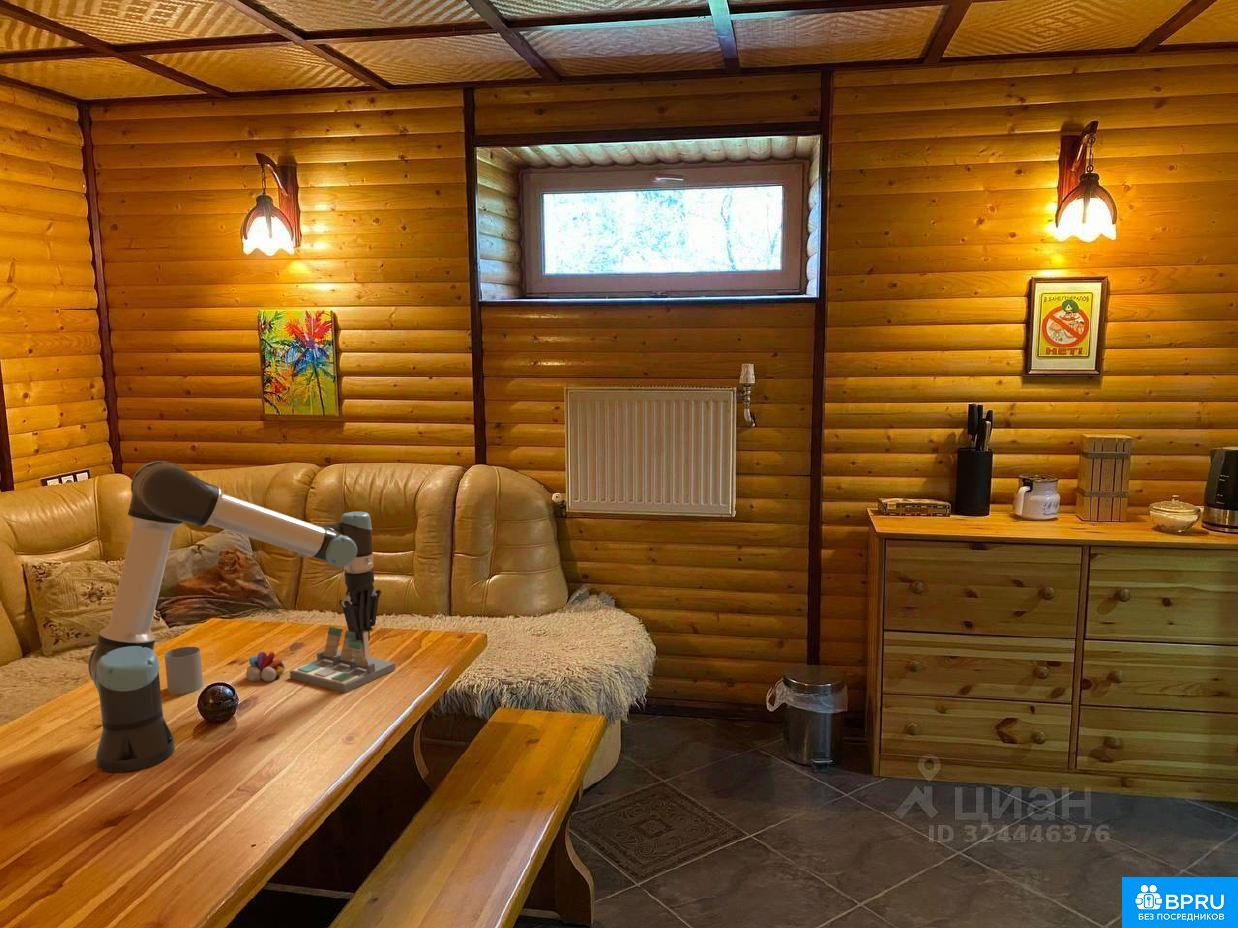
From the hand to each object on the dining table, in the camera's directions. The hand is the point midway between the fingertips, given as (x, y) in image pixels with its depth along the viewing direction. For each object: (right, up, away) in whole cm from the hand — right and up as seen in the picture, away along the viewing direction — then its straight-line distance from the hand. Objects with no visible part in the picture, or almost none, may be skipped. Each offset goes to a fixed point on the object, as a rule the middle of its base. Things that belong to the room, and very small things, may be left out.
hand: (363, 654), depth 236 cm
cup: (-45, -8, -6) cm, 46 cm away
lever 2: (-6, -3, +3) cm, 7 cm away
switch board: (-6, -6, +3) cm, 9 cm away
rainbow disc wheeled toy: (-27, -7, +1) cm, 28 cm away
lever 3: (0, -3, 0) cm, 3 cm away
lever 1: (-11, -2, +6) cm, 13 cm away
